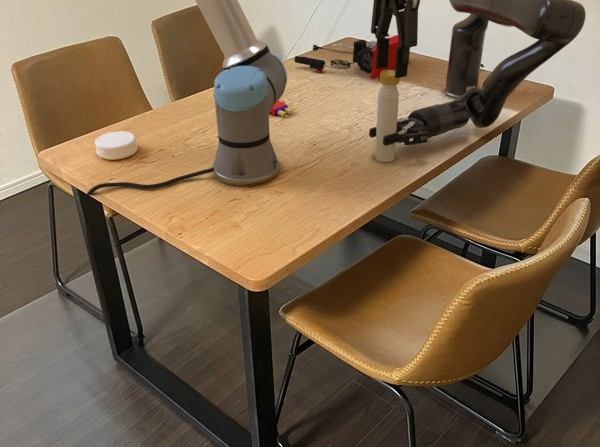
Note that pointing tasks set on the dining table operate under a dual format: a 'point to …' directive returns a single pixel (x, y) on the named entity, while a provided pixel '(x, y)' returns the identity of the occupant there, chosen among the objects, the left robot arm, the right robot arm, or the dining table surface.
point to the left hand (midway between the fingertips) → (391, 71)
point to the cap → (388, 78)
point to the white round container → (116, 145)
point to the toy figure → (280, 108)
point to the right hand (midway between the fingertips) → (377, 137)
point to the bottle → (386, 121)
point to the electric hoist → (357, 57)
